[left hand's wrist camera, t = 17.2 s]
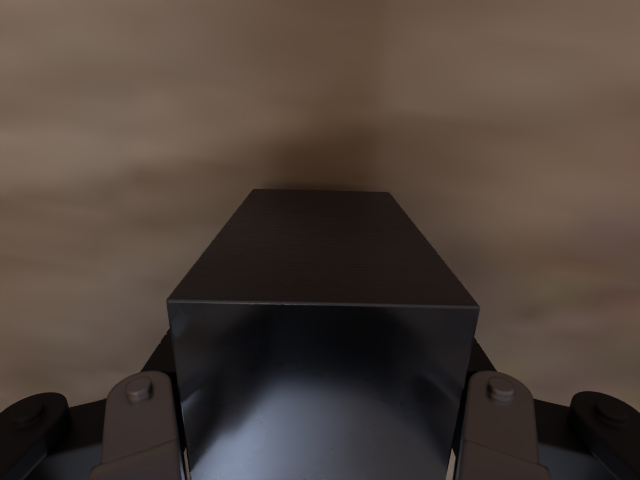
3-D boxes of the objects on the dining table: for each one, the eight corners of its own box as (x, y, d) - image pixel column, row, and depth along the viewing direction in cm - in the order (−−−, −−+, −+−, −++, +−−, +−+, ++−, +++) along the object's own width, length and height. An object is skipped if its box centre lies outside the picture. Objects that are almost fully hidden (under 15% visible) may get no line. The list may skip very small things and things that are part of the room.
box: (252, 188, 16) (164, 299, 7) (389, 192, 16) (481, 306, 7) (266, 529, 23) (232, 795, 14) (358, 531, 23) (382, 796, 14)
